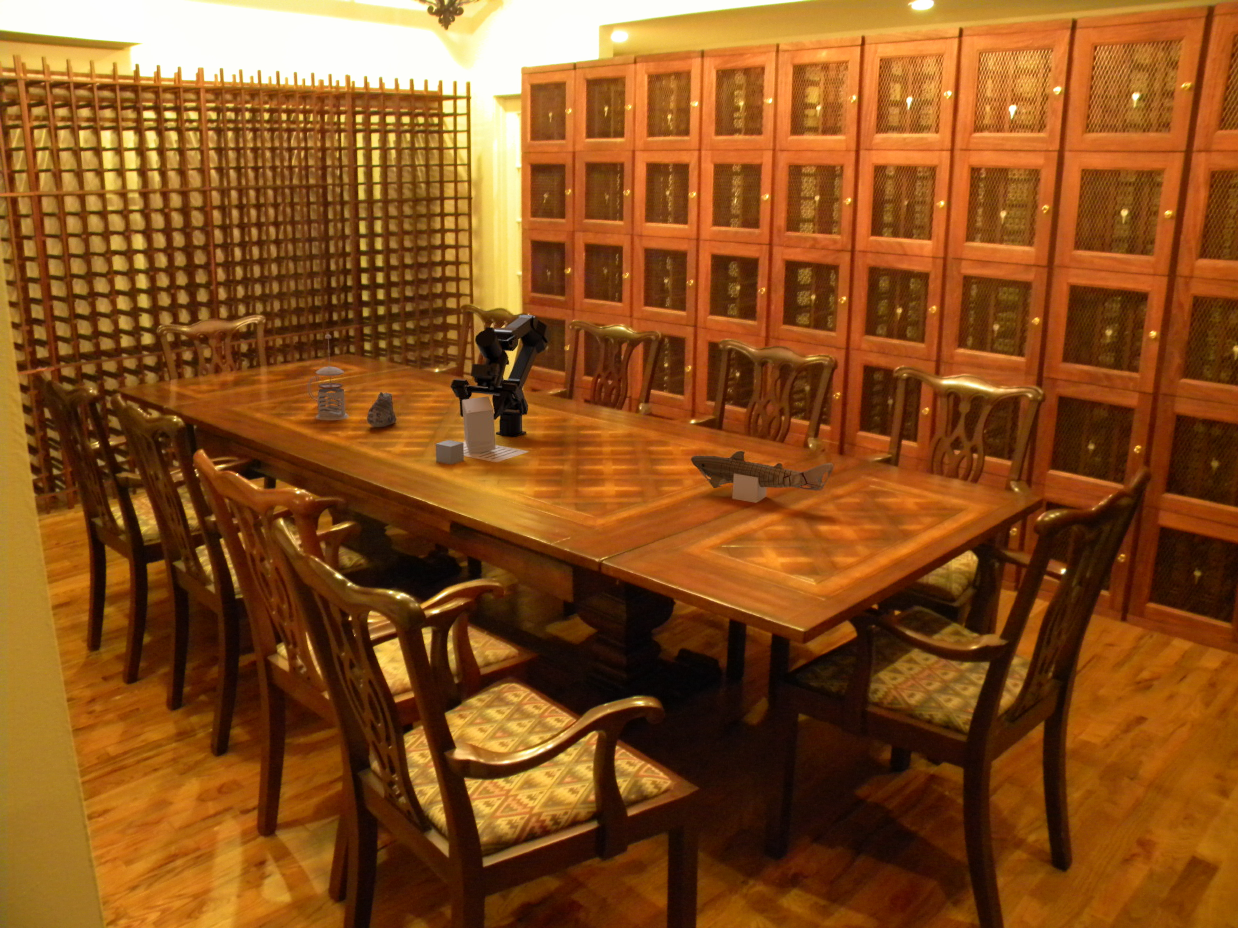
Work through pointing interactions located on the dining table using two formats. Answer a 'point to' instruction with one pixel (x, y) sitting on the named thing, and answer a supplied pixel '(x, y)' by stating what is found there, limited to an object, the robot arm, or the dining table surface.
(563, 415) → the dining table surface
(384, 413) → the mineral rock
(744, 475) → the wood carving
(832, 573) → the dining table surface
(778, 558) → the dining table surface
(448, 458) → the cube
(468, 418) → the supplement box
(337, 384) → the french press
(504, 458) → the letter
